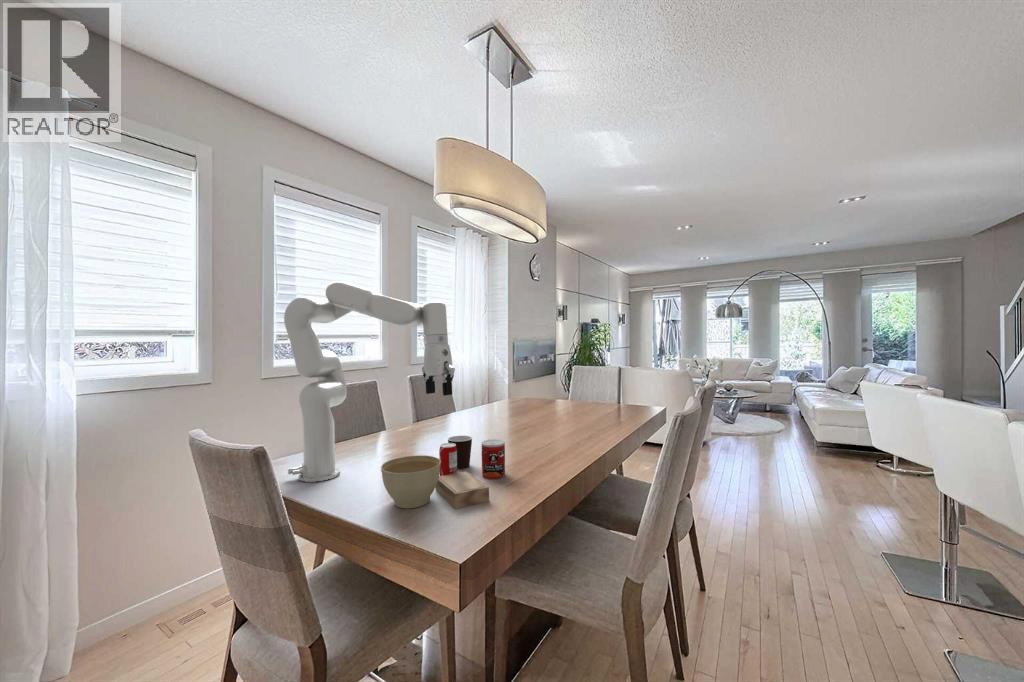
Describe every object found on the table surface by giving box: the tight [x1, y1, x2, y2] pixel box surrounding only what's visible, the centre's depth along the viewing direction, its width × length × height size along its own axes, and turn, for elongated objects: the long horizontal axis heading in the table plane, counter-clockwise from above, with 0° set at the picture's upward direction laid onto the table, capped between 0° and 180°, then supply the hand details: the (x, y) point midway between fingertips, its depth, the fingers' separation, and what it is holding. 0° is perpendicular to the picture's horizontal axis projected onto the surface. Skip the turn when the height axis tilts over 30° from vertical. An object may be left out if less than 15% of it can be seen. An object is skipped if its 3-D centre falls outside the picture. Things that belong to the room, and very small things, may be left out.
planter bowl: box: [380, 454, 441, 509], centre depth 115 cm, size 16×16×11 cm
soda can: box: [438, 442, 458, 476], centre depth 131 cm, size 6×6×12 cm
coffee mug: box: [447, 435, 473, 470], centre depth 148 cm, size 12×9×10 cm
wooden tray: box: [435, 470, 490, 510], centre depth 119 cm, size 10×16×4 cm, turn 29°
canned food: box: [481, 438, 506, 480], centre depth 137 cm, size 8×8×11 cm
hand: (439, 394), depth 132 cm, fingers open, 9 cm apart
